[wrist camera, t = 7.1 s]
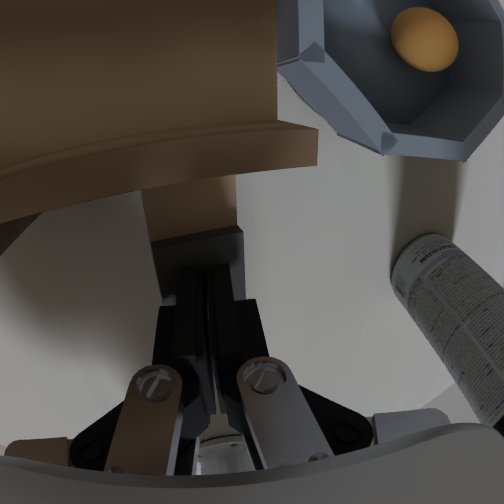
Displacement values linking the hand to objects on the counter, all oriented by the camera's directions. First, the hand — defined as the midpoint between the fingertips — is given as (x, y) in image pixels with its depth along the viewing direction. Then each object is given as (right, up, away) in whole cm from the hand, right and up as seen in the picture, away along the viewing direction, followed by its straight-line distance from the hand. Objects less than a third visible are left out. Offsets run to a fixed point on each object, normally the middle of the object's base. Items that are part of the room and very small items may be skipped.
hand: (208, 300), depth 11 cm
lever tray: (-10, +6, -2) cm, 12 cm away
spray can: (+16, +1, +13) cm, 20 cm away
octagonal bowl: (+9, +15, +4) cm, 17 cm away
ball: (+11, +13, +1) cm, 17 cm away
